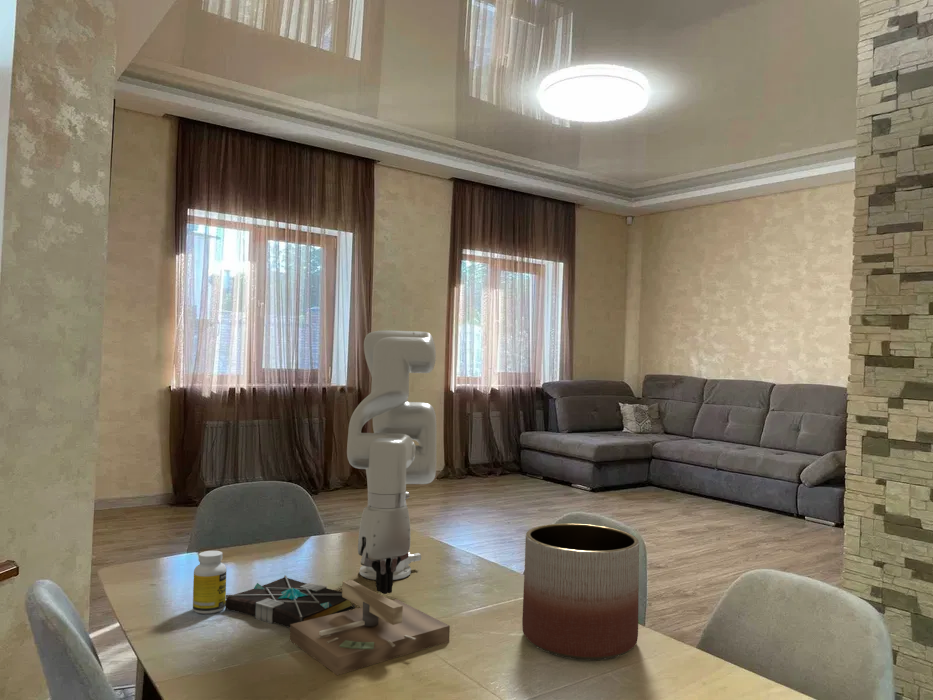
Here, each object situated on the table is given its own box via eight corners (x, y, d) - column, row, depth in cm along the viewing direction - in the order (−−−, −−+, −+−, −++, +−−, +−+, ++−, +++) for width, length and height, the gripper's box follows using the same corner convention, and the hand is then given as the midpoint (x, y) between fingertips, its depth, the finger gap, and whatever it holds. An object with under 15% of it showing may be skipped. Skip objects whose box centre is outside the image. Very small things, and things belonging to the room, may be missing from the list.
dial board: (396, 613, 149) (396, 598, 149) (455, 644, 134) (455, 627, 134) (289, 640, 134) (290, 623, 134) (342, 679, 119) (343, 659, 119)
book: (224, 612, 148) (224, 588, 148) (283, 590, 163) (284, 568, 163) (300, 636, 137) (301, 610, 137) (357, 610, 151) (357, 586, 151)
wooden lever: (352, 607, 142) (353, 579, 142) (404, 636, 129) (404, 605, 129) (297, 620, 135) (298, 590, 135) (345, 653, 121) (346, 619, 121)
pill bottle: (215, 616, 145) (217, 558, 145) (186, 613, 146) (187, 556, 146) (231, 605, 151) (232, 550, 151) (203, 603, 152) (204, 548, 152)
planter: (568, 610, 153) (570, 517, 154) (659, 642, 138) (662, 538, 138) (498, 637, 138) (501, 533, 138) (592, 676, 122) (595, 559, 122)
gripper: (406, 493, 151) (404, 580, 151) (344, 501, 141) (341, 593, 141) (427, 499, 145) (425, 589, 145) (364, 508, 135) (361, 604, 135)
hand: (384, 591), depth 143 cm, fingers closed
